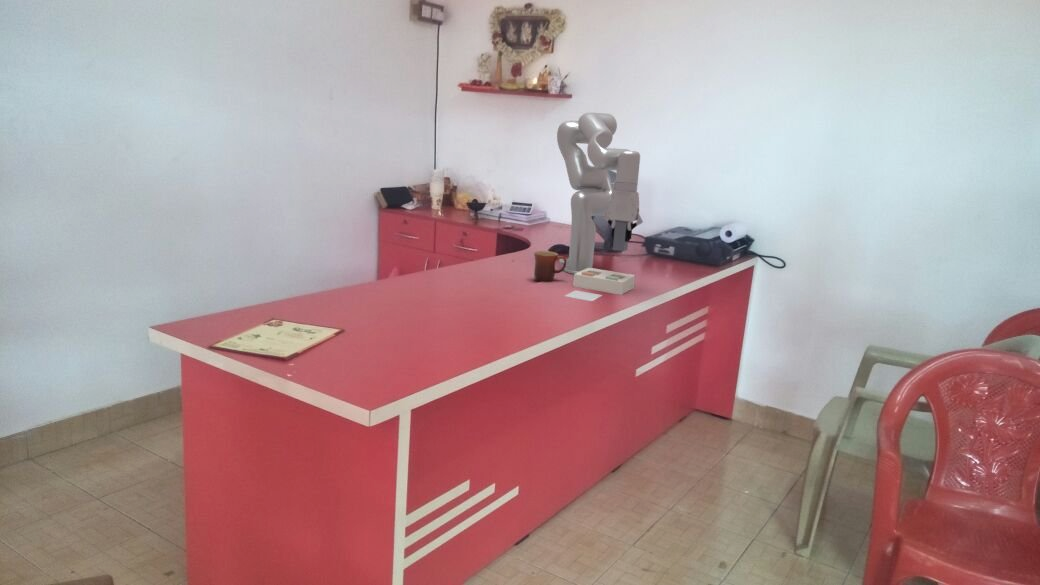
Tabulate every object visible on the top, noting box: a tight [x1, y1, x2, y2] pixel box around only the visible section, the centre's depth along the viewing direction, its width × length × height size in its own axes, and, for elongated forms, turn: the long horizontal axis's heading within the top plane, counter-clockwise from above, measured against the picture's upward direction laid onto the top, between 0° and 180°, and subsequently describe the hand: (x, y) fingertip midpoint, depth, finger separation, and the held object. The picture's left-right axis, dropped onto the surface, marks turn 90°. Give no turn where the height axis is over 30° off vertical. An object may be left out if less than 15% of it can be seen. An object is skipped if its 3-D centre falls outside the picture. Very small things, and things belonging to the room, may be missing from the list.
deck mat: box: [564, 289, 603, 302], centre depth 239 cm, size 10×10×1 cm
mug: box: [533, 250, 567, 283], centre depth 258 cm, size 12×9×10 cm
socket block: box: [572, 267, 636, 296], centre depth 253 cm, size 18×14×6 cm
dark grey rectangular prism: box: [612, 220, 629, 252], centre depth 247 cm, size 4×4×10 cm
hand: (621, 239), depth 247 cm, fingers closed on dark grey rectangular prism, 4 cm apart
